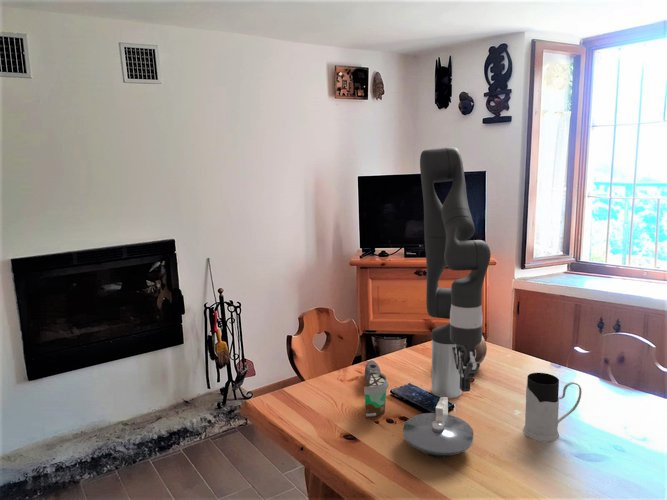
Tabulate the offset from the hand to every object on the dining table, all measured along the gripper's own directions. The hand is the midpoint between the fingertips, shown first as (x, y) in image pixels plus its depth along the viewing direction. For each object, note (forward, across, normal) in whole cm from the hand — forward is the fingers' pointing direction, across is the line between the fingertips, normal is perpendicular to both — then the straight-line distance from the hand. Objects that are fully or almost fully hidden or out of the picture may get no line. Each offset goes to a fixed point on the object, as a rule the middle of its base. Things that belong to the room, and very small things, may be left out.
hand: (464, 390), depth 120 cm
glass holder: (+15, +3, -25) cm, 29 cm away
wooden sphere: (+15, +48, -17) cm, 53 cm away
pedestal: (+15, 0, +7) cm, 17 cm away
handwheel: (+12, 0, +7) cm, 13 cm away
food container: (+15, +21, +18) cm, 32 cm away
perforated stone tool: (+15, +41, +16) cm, 46 cm away
